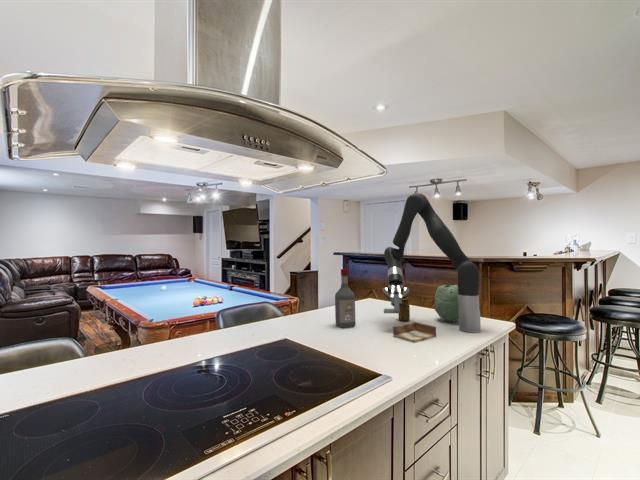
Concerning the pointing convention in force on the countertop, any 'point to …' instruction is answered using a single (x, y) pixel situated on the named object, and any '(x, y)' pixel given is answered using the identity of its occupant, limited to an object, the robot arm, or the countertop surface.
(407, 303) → the condiment
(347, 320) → the liquor
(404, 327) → the walls
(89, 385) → the countertop surface
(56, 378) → the countertop surface
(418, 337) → the tray
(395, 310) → the bracket
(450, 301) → the green rounded lump
